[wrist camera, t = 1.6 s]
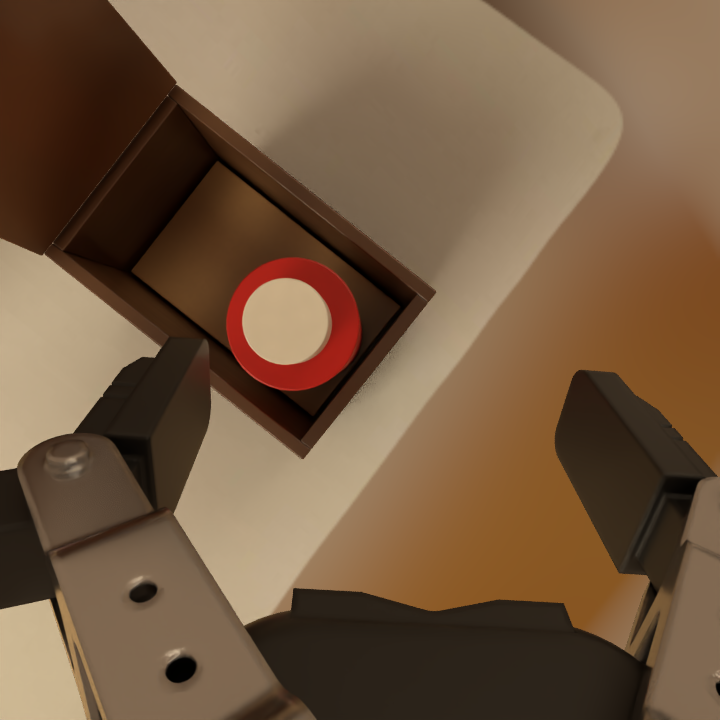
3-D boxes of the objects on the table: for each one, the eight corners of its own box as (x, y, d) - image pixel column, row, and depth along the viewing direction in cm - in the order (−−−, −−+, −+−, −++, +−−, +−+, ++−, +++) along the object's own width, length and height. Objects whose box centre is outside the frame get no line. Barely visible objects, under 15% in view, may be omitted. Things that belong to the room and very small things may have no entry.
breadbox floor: (397, 311, 33) (401, 306, 29) (319, 409, 33) (313, 417, 29) (235, 182, 33) (217, 159, 29) (158, 280, 33) (129, 271, 29)
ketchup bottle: (360, 292, 29) (355, 244, 16) (364, 374, 29) (362, 391, 16) (278, 295, 29) (208, 250, 16) (282, 377, 29) (215, 398, 16)
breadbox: (415, 310, 34) (437, 291, 23) (322, 426, 34) (302, 460, 23) (235, 167, 34) (175, 83, 23) (143, 284, 34) (43, 253, 24)
